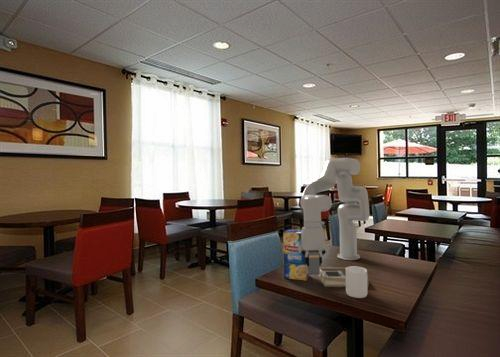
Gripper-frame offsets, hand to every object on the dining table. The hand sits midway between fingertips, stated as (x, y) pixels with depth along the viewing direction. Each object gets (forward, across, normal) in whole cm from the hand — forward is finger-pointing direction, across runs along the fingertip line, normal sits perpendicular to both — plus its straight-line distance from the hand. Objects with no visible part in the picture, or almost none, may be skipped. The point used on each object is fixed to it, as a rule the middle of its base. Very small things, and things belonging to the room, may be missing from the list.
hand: (313, 264), depth 131 cm
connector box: (+9, -14, -4) cm, 17 cm away
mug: (+9, -16, +9) cm, 20 cm away
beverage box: (+9, +6, -10) cm, 15 cm away
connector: (+4, 0, 0) cm, 4 cm away
